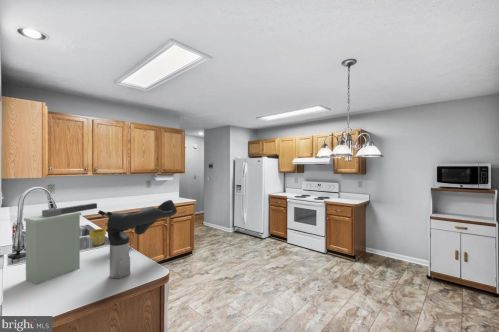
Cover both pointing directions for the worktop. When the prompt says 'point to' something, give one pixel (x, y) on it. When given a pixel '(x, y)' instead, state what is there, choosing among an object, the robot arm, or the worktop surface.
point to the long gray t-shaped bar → (68, 210)
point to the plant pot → (98, 236)
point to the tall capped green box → (52, 246)
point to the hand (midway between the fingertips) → (103, 212)
